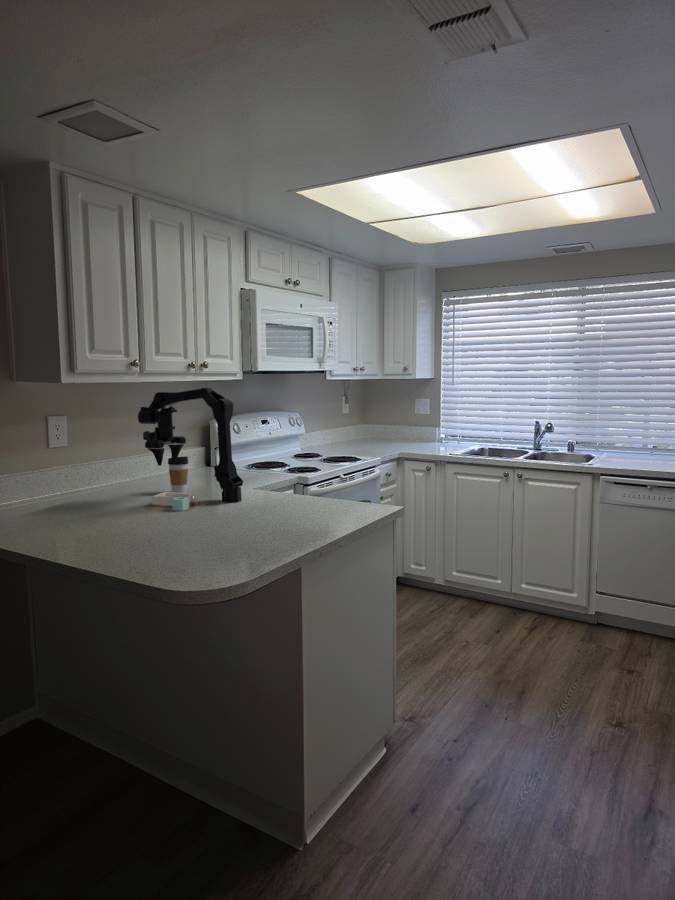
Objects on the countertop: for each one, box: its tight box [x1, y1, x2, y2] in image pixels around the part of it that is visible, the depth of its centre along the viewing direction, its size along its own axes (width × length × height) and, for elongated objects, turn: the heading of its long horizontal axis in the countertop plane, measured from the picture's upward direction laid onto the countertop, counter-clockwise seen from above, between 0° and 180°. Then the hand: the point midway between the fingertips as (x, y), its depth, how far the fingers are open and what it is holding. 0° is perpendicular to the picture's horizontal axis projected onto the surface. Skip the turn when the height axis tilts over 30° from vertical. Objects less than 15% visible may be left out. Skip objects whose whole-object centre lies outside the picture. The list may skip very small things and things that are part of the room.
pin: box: [190, 495, 196, 506], centre depth 229 cm, size 1×1×4 cm
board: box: [143, 501, 208, 513], centre depth 228 cm, size 18×14×1 cm
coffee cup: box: [167, 456, 189, 493], centre depth 258 cm, size 8×8×15 cm
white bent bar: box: [151, 491, 191, 506], centre depth 231 cm, size 11×8×3 cm
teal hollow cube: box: [172, 497, 189, 512], centre depth 222 cm, size 4×4×4 cm
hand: (167, 464), depth 242 cm, fingers open, 9 cm apart
